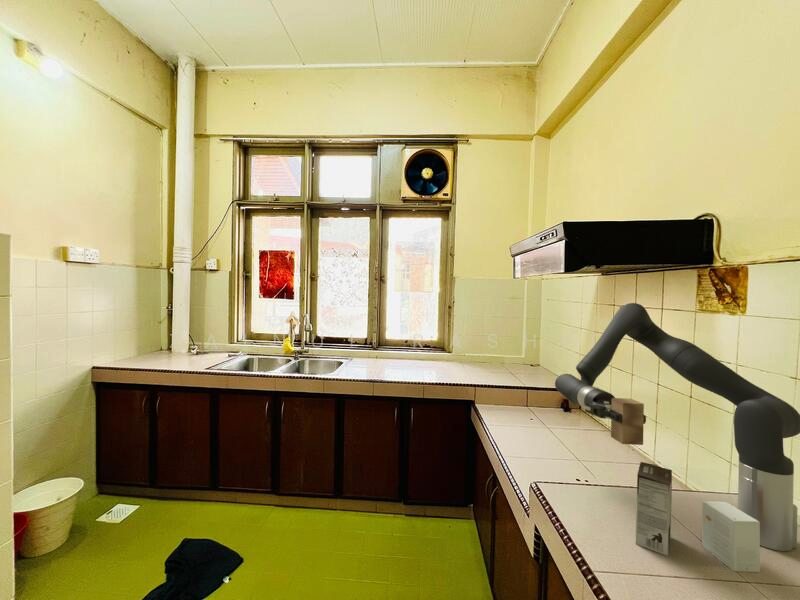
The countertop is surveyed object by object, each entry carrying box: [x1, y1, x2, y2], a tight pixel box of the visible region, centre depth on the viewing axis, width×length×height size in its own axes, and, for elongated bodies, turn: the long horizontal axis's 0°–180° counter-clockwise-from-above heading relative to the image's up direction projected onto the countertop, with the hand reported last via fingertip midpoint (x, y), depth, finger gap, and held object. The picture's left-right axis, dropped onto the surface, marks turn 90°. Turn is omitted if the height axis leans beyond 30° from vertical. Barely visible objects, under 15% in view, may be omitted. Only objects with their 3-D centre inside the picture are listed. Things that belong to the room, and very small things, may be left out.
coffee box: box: [635, 461, 673, 557], centre depth 83 cm, size 9×6×16 cm
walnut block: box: [610, 397, 645, 446], centre depth 90 cm, size 5×5×10 cm
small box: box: [701, 500, 761, 573], centre depth 78 cm, size 8×6×10 cm
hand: (632, 419), depth 87 cm, fingers closed on walnut block, 5 cm apart
